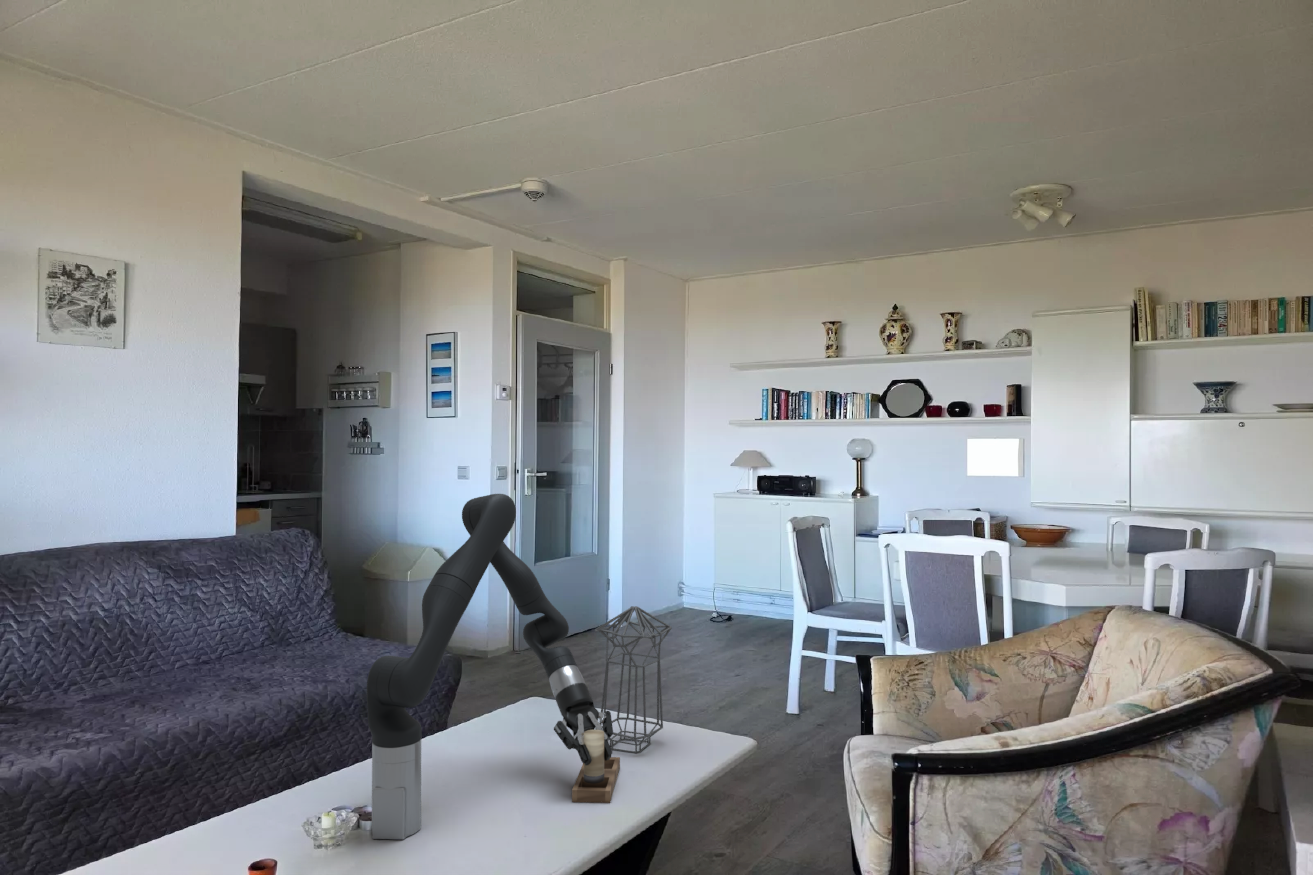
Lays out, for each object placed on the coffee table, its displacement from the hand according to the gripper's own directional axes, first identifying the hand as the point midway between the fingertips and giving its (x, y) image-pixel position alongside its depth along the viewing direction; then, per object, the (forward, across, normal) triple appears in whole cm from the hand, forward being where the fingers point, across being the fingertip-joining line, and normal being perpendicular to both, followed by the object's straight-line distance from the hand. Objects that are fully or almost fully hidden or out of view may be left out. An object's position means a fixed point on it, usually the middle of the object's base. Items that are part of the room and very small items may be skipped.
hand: (598, 760), depth 182 cm
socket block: (+1, +3, +10) cm, 10 cm away
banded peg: (+2, 0, +5) cm, 5 cm away
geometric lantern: (-10, +24, +21) cm, 33 cm away
